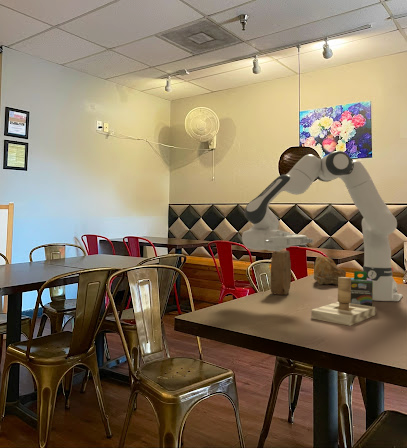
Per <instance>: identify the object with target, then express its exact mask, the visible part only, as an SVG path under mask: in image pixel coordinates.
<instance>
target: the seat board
mask: <svg viewBox="0 0 407 448" xmlns="http://www.w3.org/2000/svg"><path fill="white" fill-rule="evenodd" d="M310 310H311V313H310V314H311V319H314V320H319V321H325V322H328V323H333V324H338V325H344V326H354V325H355V324H358V323H360V322H362V321H365V320H367V319H369V318H372V317H373V316H374V317H375V315H376V306H373V305H372V306H366V305H359V304H353V303H349V311H346V310H340V309H339V302H338V301H336V302H332V303H330V304H326V305H323V306H319V307H315V308H313V309H310Z"/></svg>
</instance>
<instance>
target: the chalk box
mask: <svg viewBox="0 0 407 448" xmlns="http://www.w3.org/2000/svg"><path fill="white" fill-rule="evenodd" d="M358 275H362V276H363V277H362V276H361V277H360V276H358ZM350 278H351V303H353V304H359V305H366V306H372V307H373V301H374V300H373V281H372V279H371V278H367V272H364V271H363V270H362V271H361V270H358V271H357V270H355V271H354V272H353V277H350Z"/></svg>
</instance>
